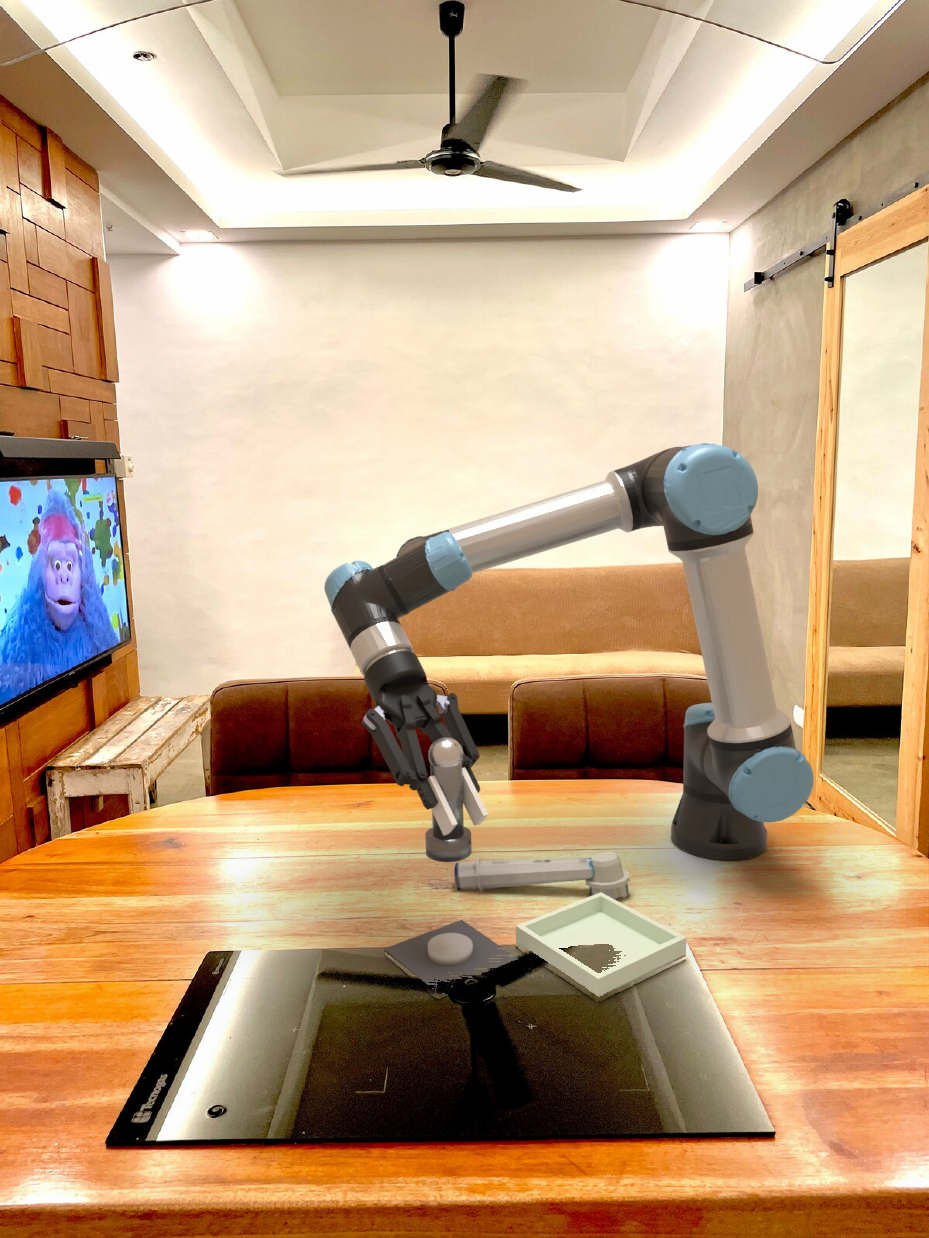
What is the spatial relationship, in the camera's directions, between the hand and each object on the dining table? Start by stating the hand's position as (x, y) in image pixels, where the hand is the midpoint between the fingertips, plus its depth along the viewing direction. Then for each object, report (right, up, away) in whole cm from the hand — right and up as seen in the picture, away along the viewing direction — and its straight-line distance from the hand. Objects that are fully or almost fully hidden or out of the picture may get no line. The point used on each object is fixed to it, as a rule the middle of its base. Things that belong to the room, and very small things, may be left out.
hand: (466, 824), depth 103 cm
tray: (+17, -18, +7) cm, 26 cm away
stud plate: (-2, -18, +6) cm, 20 cm away
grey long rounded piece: (+11, -16, +24) cm, 31 cm away
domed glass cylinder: (-2, -4, +4) cm, 6 cm away
